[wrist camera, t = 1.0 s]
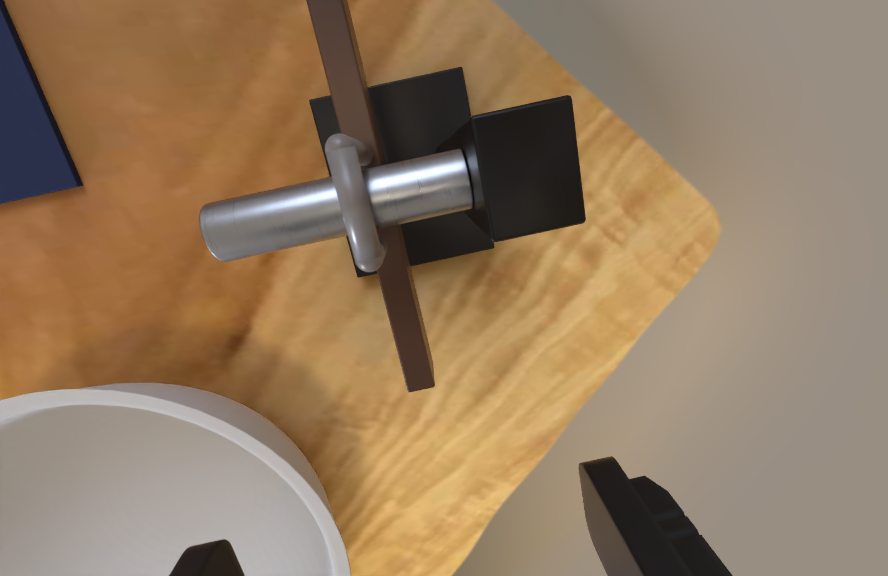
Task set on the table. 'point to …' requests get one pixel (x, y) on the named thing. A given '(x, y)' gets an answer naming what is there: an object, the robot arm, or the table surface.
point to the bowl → (155, 485)
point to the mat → (27, 128)
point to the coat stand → (425, 178)
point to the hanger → (346, 161)
